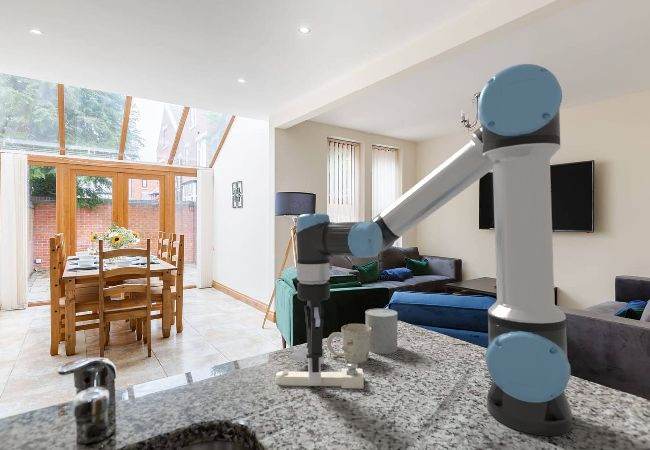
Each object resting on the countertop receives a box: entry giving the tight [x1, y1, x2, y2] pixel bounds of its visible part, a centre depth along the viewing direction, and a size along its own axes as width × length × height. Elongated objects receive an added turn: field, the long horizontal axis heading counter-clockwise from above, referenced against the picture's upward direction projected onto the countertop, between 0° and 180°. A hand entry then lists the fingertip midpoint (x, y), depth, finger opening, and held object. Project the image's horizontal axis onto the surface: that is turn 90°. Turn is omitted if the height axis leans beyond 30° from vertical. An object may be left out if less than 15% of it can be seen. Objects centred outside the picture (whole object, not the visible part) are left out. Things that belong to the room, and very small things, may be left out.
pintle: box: [346, 362, 359, 375], centre depth 86 cm, size 3×3×5 cm
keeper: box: [288, 345, 325, 366], centre depth 96 cm, size 5×8×5 cm, turn 144°
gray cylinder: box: [364, 307, 399, 355], centre depth 109 cm, size 10×10×12 cm
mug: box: [326, 323, 371, 364], centre depth 102 cm, size 8×13×10 cm, turn 78°
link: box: [275, 367, 365, 389], centre depth 86 cm, size 20×5×2 cm, turn 87°
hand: (314, 384), depth 84 cm, fingers closed
